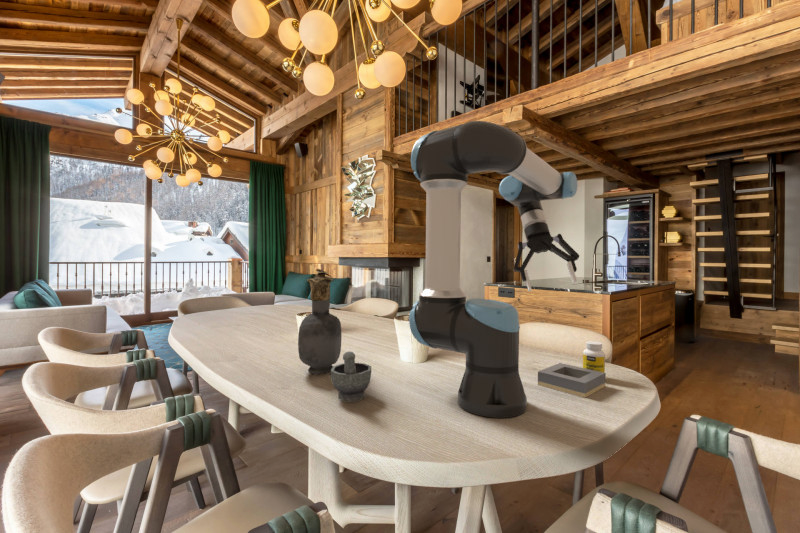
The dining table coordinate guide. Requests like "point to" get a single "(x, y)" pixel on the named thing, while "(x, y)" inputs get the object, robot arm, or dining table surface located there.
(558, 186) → the robot arm
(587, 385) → the socket block
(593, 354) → the supplement bottle
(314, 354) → the dark decorative bottle
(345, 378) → the mortar and pestle
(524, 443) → the dining table surface
